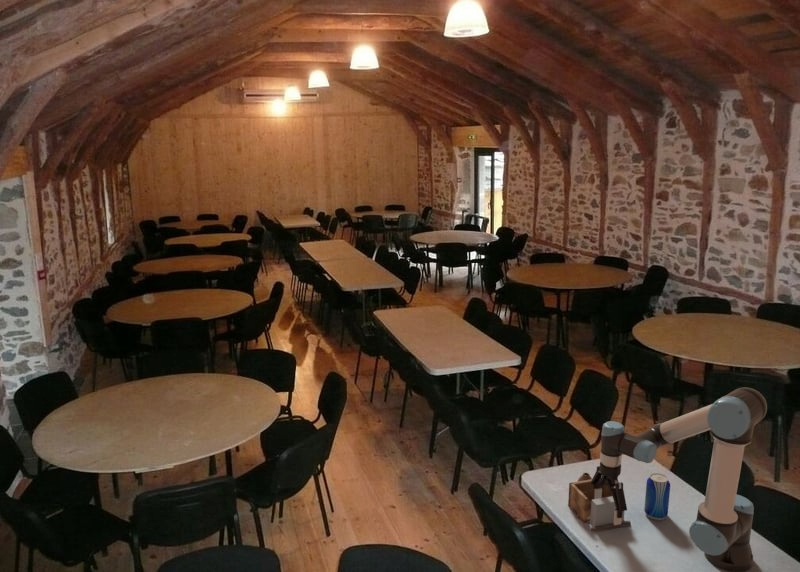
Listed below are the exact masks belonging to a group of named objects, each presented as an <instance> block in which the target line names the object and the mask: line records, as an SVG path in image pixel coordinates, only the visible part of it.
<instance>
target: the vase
mask: <svg viewBox="0 0 800 572" xmlns="http://www.w3.org/2000/svg"><path fill="white" fill-rule="evenodd" d="M590 479H593V477H591V475H590V473H588V472H583V473H582V475H581V476H580V477H578V479H577V481H576V482H578V481H584V480H590Z"/></svg>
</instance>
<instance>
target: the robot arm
mask: <svg viewBox="0 0 800 572" xmlns="http://www.w3.org/2000/svg"><path fill="white" fill-rule="evenodd" d="M767 411H768V403H767V400H766V398H765V397H764V396H763V395H762V393H760V391H758V390H756V389H754V388H751V387H746V386H745V387H739V388H736V389H734V390H732V391H731V392H729V393H728V394H726V395H724V396H721V397H719V398H718V399H717V400H715V401H714V402H713V403H711V404H708V405H706V406H703V407H701V408H698V409H696V410H693V411H691V412H687V413H685V414H682V415H680V416H677V417H675V418H672V419H669V420H667V421H664V422H662V423H657V424H653V425H652V426H650V427H649V428H647V429H646V430H644V431H643V432H641V433H639V434H637V435H633V434H630V433H628V432H626V431H625V426H624V425H623V424H622V423H620V422H618V421H613V420H612V421H611V420H610V421H606V422H605V423H603V425H602V430H601V439H600V440H601V443H600V444H601V445H600V453H599V456H600V457H599V466H596V470H595V473H594V475H593V477H592V481H591V484H593V485H594V499H599V498H601V497H602V488H599V487H602V485H604V484H605V485H607V486H608V487H609V490H610V491H611V493H612V496H613V499H614V503H615V506H616V508H615V511H614V525H619V524H621V521H622V513H623V511H624V512H625V511H627V510H628V506H627V501H626V497H625V492H624V491H625V490H624V483H623V482H620V481H619V480H618V478H619V476H620V475H621V472H622V457H623V455H625V456H627V457H629V458H632V459H634V460H636V461H638V462H642V463H646V464H651V463H652V462H654V460H655V458H656V456H657V454H658V449H660V448H662V447H665V446H667V445H670V444H674V443H676V442H679V441H682V440H684V439H687V438H690V437H693V436H696V435H700V434H701V433H705V432H707V431H710V432H709V433H710V435H711V437H713V439H714V441H713V446H712V453H711V460H710V466H709V473H708V478H707V484H706V491H705V497H704V501H703V502H701V503H699V505H698V507H697V514H696V519H695V520H694V521H693V522H692V523H691V525H690V527H689V532H688V533H689V537H690V539H691V541H692V543H694V545H695V547H696V548H697V549H698V550H700V551H701V552H703V554H704V557H705V558H706V559H707V561H708V562H710V563H711V564H713V565H714V566H716V567H718V568H720V569H723V570H724V571H725V570H726V571H728V572H747V571H749V570H750V569H752V567H753V566H754V555H753V552H752V548H751V543H750V542H751V541H750V540H751V533H752V527H753V526H752V525H753V519H754V514H755V513H754V510H755V507H754V503H753V502H752V501H751V500H750V499H748V498H747V497H745V496H743V495H740V494H737V492H738V486H739V481H740V475H741V470H742V463H743V458H744V454H745V453H744V452H745V447H746V446H748V445H750V444H751V443H752V440H753V433H754V428H755V426H756V425H757V424H758V423H759V422H761V421H762V420H763V419H764V418H765V417H766V414H767ZM613 487H615V488H613Z"/></svg>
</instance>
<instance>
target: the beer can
mask: <svg viewBox="0 0 800 572" xmlns="http://www.w3.org/2000/svg"><path fill="white" fill-rule="evenodd" d="M645 486H646V487H645V498H644V499H645V500H644V507H643V508H644V509H643V511H644V513H645V514H646V516H647V518H650V519H652V520H655V521H663V520H665V519H666V518H667V517H668V515H669V505H670V504H669V503H670V494H671V482H670V481H669V478H668V476H667V475H665V474H664V473H663V474H662V473H659V472H656V473H655V472H653V473H651V474H650V475H649V477H648V478H647V479H646V484H645Z"/></svg>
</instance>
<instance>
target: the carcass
mask: <svg viewBox="0 0 800 572" xmlns="http://www.w3.org/2000/svg"><path fill="white" fill-rule="evenodd" d="M592 479H593V478H592ZM592 479H590V480H584V481H578V480H577V481H578V482H577V481H574V482H573V481H572V482H569V484H568V505H567V506H568V508H570V509H571V510H572V511H573V512H574V514H575V515H576V516H577V517H578V518H579V519H580V520H581V521H582V522H583V524H585V523H590V516H591V501H592V500H594V485H593V484H591V481H592ZM599 488H602V497H601V498H605V497H611V496H612V493H611V491H610V490H609V487H608V486H607V485H605V484H604V485H602V487H599ZM613 488H615V487H613ZM631 523H632V522H631V521H630V520H626V521H625V520H624V522H621V524H619V525H614V524H608V525H603V526H598V527H593V526H591V527H590V531H591V532H592V533H594V532H601V531H604V530H605V531H606V530H612V529H617V528H621V527H626V526H631Z"/></svg>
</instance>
